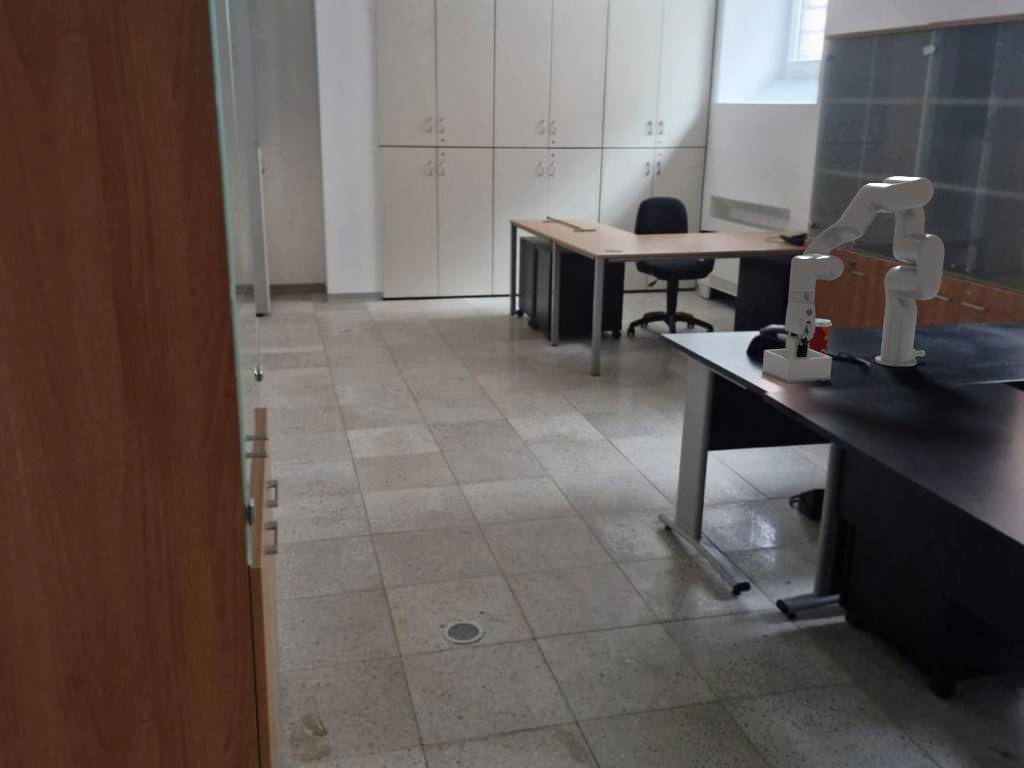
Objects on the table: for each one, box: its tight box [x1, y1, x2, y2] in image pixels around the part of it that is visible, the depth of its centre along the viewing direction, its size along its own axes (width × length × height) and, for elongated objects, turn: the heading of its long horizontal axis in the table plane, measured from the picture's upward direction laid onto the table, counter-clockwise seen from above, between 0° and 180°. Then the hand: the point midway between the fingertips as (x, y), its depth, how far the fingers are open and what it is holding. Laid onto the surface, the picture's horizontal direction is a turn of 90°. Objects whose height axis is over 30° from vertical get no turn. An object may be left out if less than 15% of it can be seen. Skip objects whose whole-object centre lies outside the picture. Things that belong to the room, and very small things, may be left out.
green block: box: [784, 335, 809, 359], centre depth 277 cm, size 5×5×6 cm
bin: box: [762, 348, 833, 384], centre depth 278 cm, size 15×15×7 cm
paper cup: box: [809, 318, 833, 356], centre depth 294 cm, size 8×8×14 cm
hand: (796, 354), depth 278 cm, fingers closed on green block, 5 cm apart
